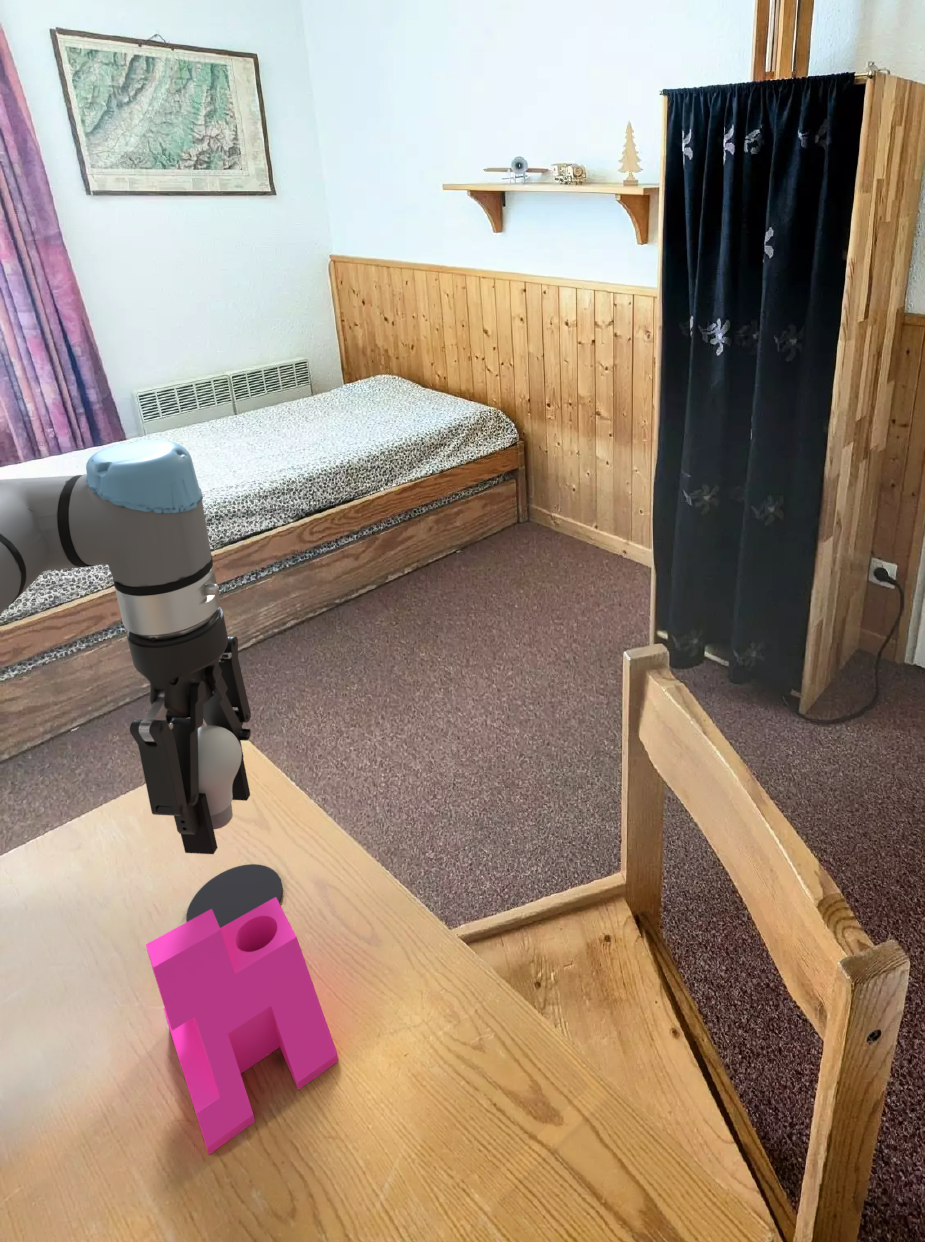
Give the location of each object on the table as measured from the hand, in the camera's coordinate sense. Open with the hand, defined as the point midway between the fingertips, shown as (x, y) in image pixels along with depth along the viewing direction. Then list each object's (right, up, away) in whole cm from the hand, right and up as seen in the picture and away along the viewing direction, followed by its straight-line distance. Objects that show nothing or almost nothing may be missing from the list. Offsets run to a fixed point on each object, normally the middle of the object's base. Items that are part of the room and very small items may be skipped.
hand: (219, 822), depth 75 cm
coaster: (0, -10, +4) cm, 11 cm away
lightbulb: (0, 0, 0) cm, 1 cm away
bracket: (+7, -15, -9) cm, 19 cm away
